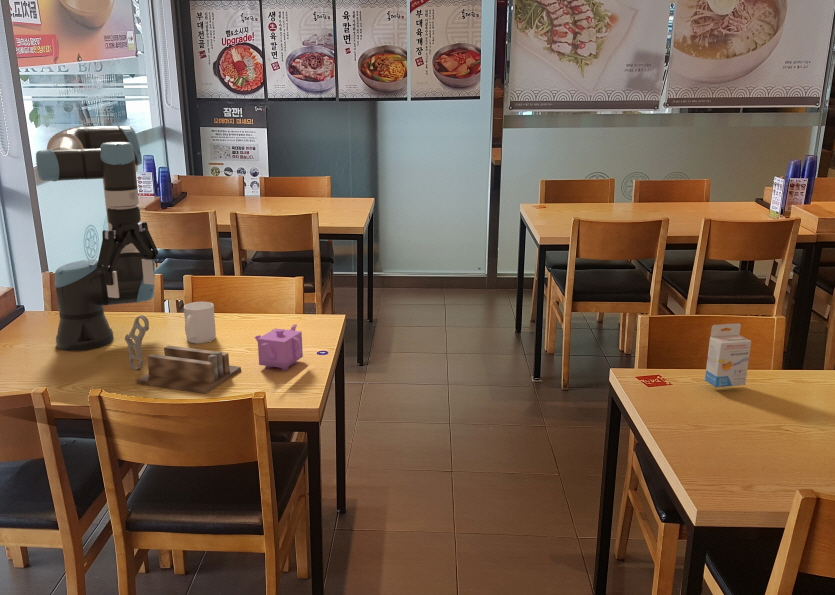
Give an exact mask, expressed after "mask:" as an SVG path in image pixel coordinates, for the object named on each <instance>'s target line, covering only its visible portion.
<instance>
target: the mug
mask: <svg viewBox="0 0 835 595" xmlns="http://www.w3.org/2000/svg"><path fill="white" fill-rule="evenodd" d="M214 308H215V306H214V303H212V302H209V301H195V302H189V303H186V304H184V305H183V311H184V314H183V315H184V332H185V336H186V337H185V338H186V340H187V341H188V343H191V344H195V345H196V344H197V345H198V344H199V345H200V344H207V343H211V342H213V341H214V340H215V339H216V338H217V336H216V335H217V333H216V332H217V330H216V320H215V309H214Z"/></svg>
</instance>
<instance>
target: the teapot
mask: <svg viewBox="0 0 835 595" xmlns="http://www.w3.org/2000/svg"><path fill="white" fill-rule="evenodd" d="M297 327H298V324H296V323H295V324H293V325H292V326H291V327H290V329H284V328H274V329H272V330H270V331H269V332H266V333H265V334H264V335H260V334H259V335H255V336H254V338H255V340H256V341H257V349H258V350H257V352H258V354H257V355H258V364H259V365H260V366H265V368H266V369H272V368H279V369H281V371H284V372H285V371H289V370H290V368H289V367H290V366H291V365H297V364H298V361H299V360H300V359H302V358H304V357H303V356H304V354H303V335H302V334H303V333H302V332H303V331H300V330H296V328H297Z"/></svg>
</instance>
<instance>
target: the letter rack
mask: <svg viewBox="0 0 835 595" xmlns="http://www.w3.org/2000/svg"><path fill="white" fill-rule="evenodd" d="M163 352H164V355H161V354H154V353H151V354H149V355H147V356H146V358H147V359H146V360H147V369H148V372H147V373H146V374H144V375H142V376H140V377H138V378H137V379H136V380H135V381H136V382H135V384H138V385H143V386H144V385H145V386H152V387H156V388H157V387H158V388H165V389H171V390H178V391H185V392H193V393H197V394H198V393H199V394H207V393H209V392H211V391H212V390H214V389H215V388H217V387H218V386H220V385H221V384H223V383H224V382H226V381H227V380H229V379H230V378H232V377H233V376H235V375H237V374H238V373H239V372H241V371H242V368H241V366H238V365H237V366H236V365H230V358H229V352H224V351H223V352H222V351H215V350H208V349H207V350H206V349H202V348H201V349H199V348H191V347H182V346H175V345H166V346H164V347H163Z"/></svg>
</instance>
